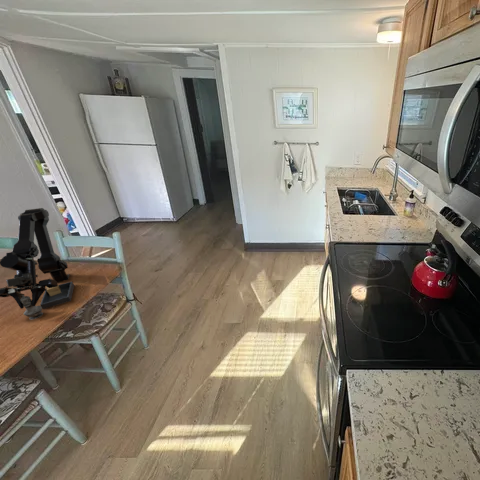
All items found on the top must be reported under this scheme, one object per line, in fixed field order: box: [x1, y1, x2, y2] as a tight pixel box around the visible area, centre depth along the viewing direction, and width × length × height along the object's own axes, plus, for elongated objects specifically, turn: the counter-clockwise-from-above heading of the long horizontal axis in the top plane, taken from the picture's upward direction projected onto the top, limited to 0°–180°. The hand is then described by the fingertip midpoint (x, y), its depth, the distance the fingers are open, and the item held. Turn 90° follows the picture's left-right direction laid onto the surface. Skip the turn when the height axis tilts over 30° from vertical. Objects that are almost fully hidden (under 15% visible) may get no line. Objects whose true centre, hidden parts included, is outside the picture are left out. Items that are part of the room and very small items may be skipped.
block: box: [45, 286, 61, 296], centre depth 132 cm, size 4×4×4 cm
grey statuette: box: [20, 294, 44, 321], centre depth 116 cm, size 6×6×12 cm
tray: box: [39, 281, 75, 310], centre depth 130 cm, size 15×10×3 cm, turn 35°
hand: (27, 307), depth 115 cm, fingers closed on grey statuette, 3 cm apart
